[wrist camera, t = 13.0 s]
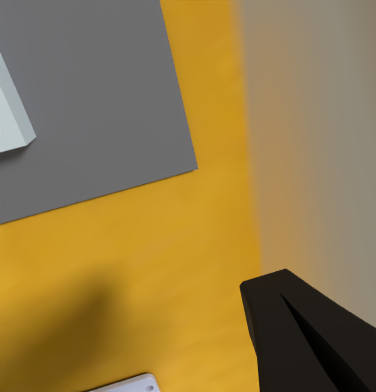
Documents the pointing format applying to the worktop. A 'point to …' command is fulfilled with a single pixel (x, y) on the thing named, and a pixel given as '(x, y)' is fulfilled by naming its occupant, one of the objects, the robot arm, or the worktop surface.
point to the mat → (90, 102)
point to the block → (12, 114)
